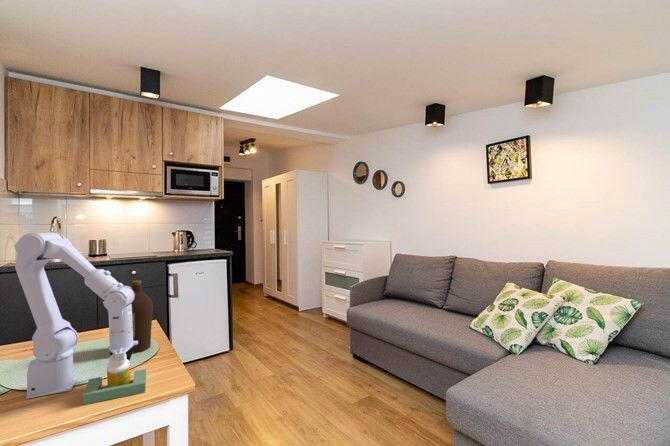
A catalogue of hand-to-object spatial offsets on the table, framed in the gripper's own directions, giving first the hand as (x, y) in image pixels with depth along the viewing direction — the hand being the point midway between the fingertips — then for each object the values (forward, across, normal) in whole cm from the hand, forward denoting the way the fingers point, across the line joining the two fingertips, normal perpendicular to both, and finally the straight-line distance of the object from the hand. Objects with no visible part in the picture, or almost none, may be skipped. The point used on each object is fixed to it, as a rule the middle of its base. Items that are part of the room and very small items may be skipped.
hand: (123, 375), depth 95 cm
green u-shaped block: (+2, -3, +1) cm, 4 cm away
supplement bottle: (+2, -2, +1) cm, 3 cm away
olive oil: (+3, +27, -2) cm, 27 cm away
